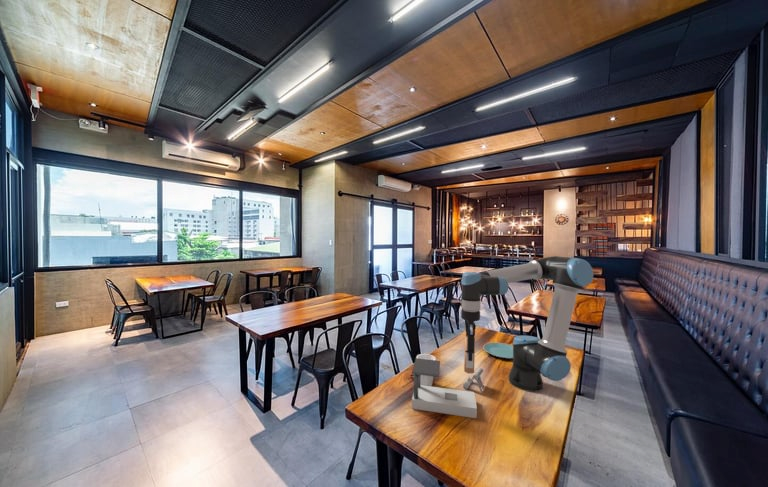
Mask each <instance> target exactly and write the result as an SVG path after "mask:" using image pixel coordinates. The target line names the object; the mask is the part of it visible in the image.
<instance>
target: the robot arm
mask: <svg viewBox="0 0 768 487" xmlns="http://www.w3.org/2000/svg"><path fill="white" fill-rule="evenodd" d="M532 279H533V280H535V281H536V280H537V281H538V280H549V281H552V285H553V287H554V292H553V296H552V298H551V304H550V307H549V311H548V314H547V315H548V316H547V320H546V322H545V327H544V330H543V336H542V338H541V339H540V338H538V337H537V336H532V335H516V336H514V338H513V344H512V346H513V358H512V367H511V369H510V371H509V374H508V382H509V384H511V385H512V386H514V387H515V388H517V389H520V390H522V391H526V392H527V391H528V392H540V391H541V390H543V388H544V381H543V377H544V378H547V379H549V380H550V381H553V382H554V381H555V382H559V381H561V380H563V379H565V378H566V377H567V376H568V374H570V371H571V369H572V368H571V367H572V365H571V361H570V360H569V358H567V355H568V351H567V349H566V347H565V345H566V341H567V337H568V333H569V328H570V325H571V321H572V317H573V313H574V308H575V305H576V300H577V297H578V294H579V293H581V292H583V290H584V287H586V286H589V285H590V284H591V283H592V281H593V279H594V271H593V267H592V266H591V264H590V263H589V262H588V261H587V260H585V259H582V258H579V257H568V256H567V257H566V256H556V255H555V256H547V257H541V258H537V259H532V260H530V261H529V262H528V263H522V264H516V265H511V266H507V267H503V268H497V269H492V270H486V271H480V272H477V271H467V272H463V274H462V277H461V300H460V301H459V303H460V304H461V312H460V313H461V315H460V318H461V319H462V320H464V321H465V322H464V327H465V337H467V351H466V350H465V349H464V353H465V352H467V360H466V368H473V361H474V362H475V359H474V338H475V339H476V337H475V336H476V326H477V325H476V323H475V322H478V321H480V320H481V311H480V310H481V304H482V303H481V302H482V301H481V299H482V298H481V297H482V296H501V295H505V294H507V293H508V291H509V284H511V283H517V282H522V281H526V280H532ZM542 376H543V377H542Z"/></svg>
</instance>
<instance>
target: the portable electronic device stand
mask: <svg viewBox="0 0 768 487" xmlns="http://www.w3.org/2000/svg"><path fill="white" fill-rule="evenodd" d="M483 372H484V369H483V368H482V367H479V368H478V369H477V370H476V372H474V373H473V375H472V378H471V376H469V377H468V378H467V380H466V381H464V383H463V386H462V387H463V389H465V390H467V389H468V388H469V387H470V385H471V384H472V383H473V381H474V380H475V381H476V383H477V385H478V386H477V387H478V389H479V391H480V392H482V391H483V389H485V386H484V383H483V381H482V379H481V374H482V373H483Z"/></svg>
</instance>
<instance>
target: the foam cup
mask: <svg viewBox="0 0 768 487" xmlns="http://www.w3.org/2000/svg"><path fill="white" fill-rule="evenodd" d="M416 358H418V359H427V360H436V359H437V358H436V356H435V355H432V354H430V353H429V354H428V353H420V354H417V355H416V357H415V359H416ZM436 361H437V360H436ZM433 381H434V377H433V376H425V375H421V385H424V386H431V387H433Z"/></svg>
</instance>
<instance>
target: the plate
mask: <svg viewBox="0 0 768 487" xmlns="http://www.w3.org/2000/svg"><path fill="white" fill-rule="evenodd" d="M482 349H483V350H484V351H485V352H486V353H488V354H489V355H491V356H493V357H495V356H496V358H498V357H499V358H498V359H504V358H505V359H506V360H510V359H513V344H512V345H511V344H509V343H502V342H488V343H484V345H483V347H482ZM505 359H504V360H505Z"/></svg>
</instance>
